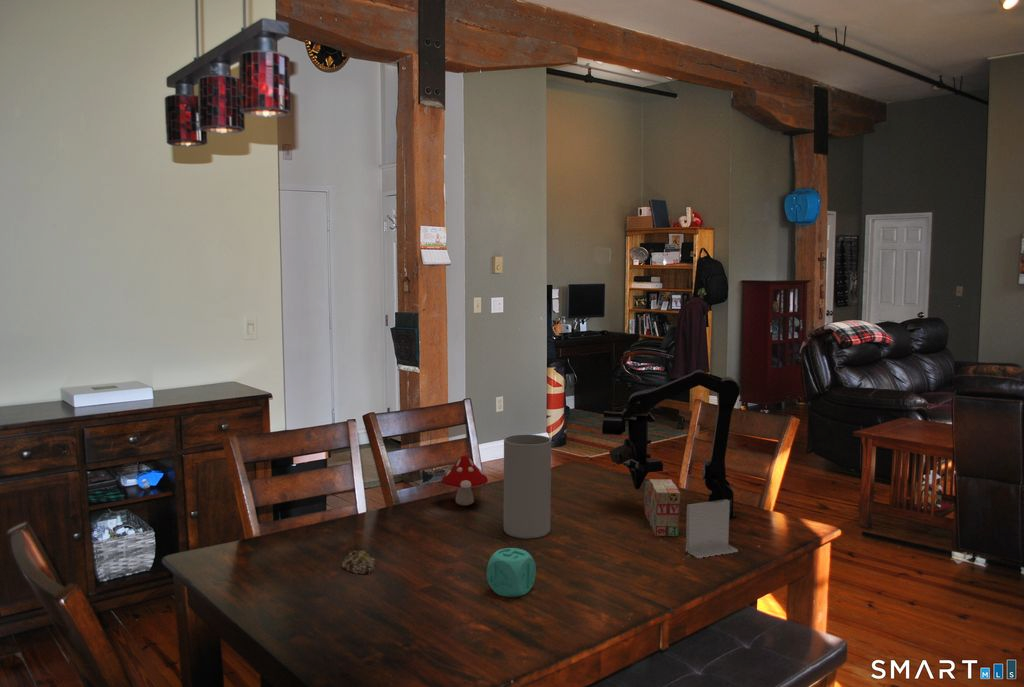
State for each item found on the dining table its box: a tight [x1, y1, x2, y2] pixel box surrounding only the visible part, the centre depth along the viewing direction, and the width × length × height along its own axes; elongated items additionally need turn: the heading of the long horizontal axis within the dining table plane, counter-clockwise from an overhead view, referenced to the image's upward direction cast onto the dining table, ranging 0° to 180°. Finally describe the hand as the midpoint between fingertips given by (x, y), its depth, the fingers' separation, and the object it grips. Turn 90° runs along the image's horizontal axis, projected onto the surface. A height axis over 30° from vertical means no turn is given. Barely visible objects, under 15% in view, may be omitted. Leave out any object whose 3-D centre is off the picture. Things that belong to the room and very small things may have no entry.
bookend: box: [685, 499, 739, 559], centre depth 190 cm, size 12×5×12 cm, turn 112°
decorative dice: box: [486, 547, 537, 598], centre depth 167 cm, size 8×8×8 cm
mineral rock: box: [341, 550, 377, 575], centre depth 179 cm, size 11×4×8 cm
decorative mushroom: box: [441, 454, 489, 507], centre depth 226 cm, size 14×14×15 cm
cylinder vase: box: [503, 434, 552, 540], centre depth 203 cm, size 12×12×25 cm
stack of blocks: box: [643, 478, 681, 536], centre depth 211 cm, size 21×6×12 cm, turn 179°
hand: (637, 488), depth 222 cm, fingers closed
